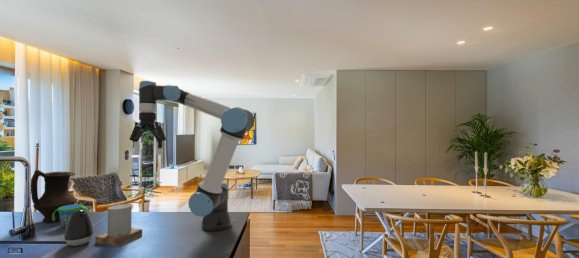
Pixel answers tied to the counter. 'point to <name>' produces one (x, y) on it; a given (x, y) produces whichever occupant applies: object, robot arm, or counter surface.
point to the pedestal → (118, 238)
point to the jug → (52, 194)
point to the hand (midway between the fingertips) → (147, 154)
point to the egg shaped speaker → (78, 228)
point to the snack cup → (68, 212)
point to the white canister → (119, 220)
